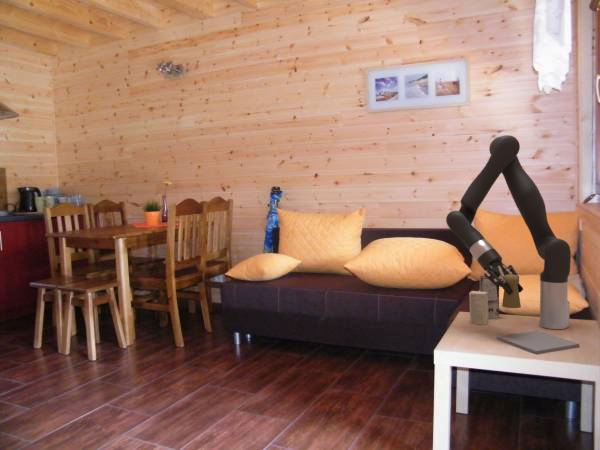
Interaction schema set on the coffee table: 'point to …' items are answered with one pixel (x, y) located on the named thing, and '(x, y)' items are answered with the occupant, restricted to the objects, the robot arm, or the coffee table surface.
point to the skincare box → (478, 307)
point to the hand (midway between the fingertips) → (516, 292)
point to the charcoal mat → (537, 342)
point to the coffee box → (491, 296)
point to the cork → (514, 298)
